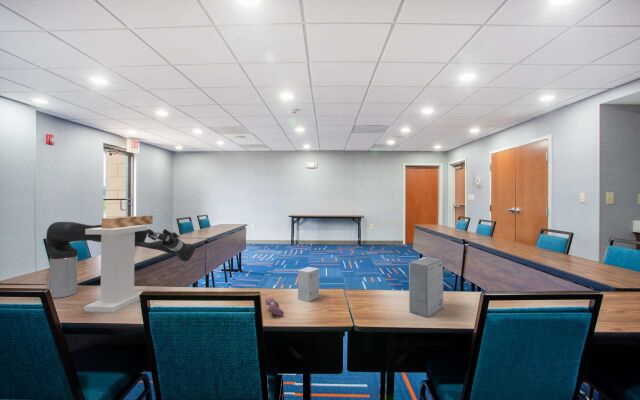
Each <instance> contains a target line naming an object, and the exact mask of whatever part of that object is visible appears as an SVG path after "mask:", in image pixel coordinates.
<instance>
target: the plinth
mask: <svg viewBox="0 0 640 400" xmlns="http://www.w3.org/2000/svg"><path fill="white" fill-rule="evenodd" d="M143 230H148V224H146V225H138V226H130V227H121V228H113V229H102V227H101V228H91V229H85V234H97V235H101V242H100V299H98V300H96V301H93V302H91V303H89V304H87V305H84V307H83V311H84V312H90V313H92V312H93V313H115V312H117V311H119V310H121V309H123V308H125V307H127V306H130V305H132V304H133V303H135V301H136V302H137V301H139V294H140V293H141V292H142V291H139V290H138V291H135V251H136V250H135V248H136V246H135V232H137V231H143ZM131 303H132V304H131Z"/></svg>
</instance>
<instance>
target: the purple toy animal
mask: <svg viewBox="0 0 640 400" xmlns="http://www.w3.org/2000/svg"><path fill="white" fill-rule="evenodd" d="M264 305H265V306H268V309H269V311H270V314H272V316H274V315H275V316H277V317H283V316H284V314H285V313H284V311H283V310H282V309H281V308H280V305H279V302H277V301H276V300H275V299H274V297H271V296H269V297H267V298H265V302H264Z"/></svg>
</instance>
